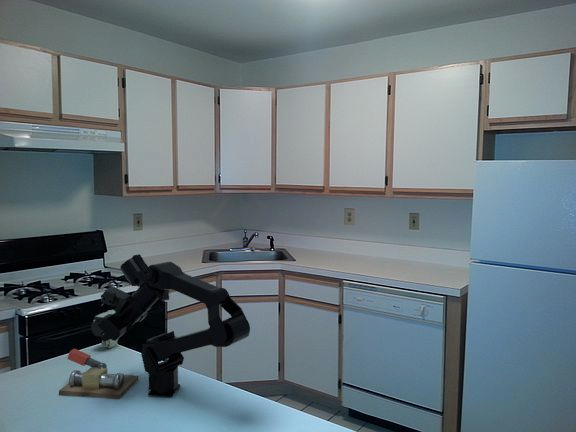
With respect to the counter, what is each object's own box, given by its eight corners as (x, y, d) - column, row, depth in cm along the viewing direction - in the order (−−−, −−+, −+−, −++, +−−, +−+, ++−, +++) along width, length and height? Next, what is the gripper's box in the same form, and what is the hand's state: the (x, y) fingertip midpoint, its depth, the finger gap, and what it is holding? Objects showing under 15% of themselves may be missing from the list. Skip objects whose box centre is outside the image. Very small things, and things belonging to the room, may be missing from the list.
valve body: (125, 385, 118) (124, 369, 118) (116, 392, 114) (116, 376, 113) (78, 382, 119) (77, 366, 119) (68, 389, 115) (68, 373, 115)
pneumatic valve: (127, 341, 152) (127, 306, 151) (103, 353, 141) (102, 316, 140) (114, 339, 154) (113, 304, 153) (88, 351, 143) (88, 314, 142)
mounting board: (138, 379, 123) (138, 375, 123) (119, 399, 112) (119, 394, 112) (83, 376, 124) (83, 372, 124) (59, 395, 113) (58, 390, 113)
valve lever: (109, 363, 121) (74, 348, 121) (105, 366, 118) (69, 351, 119) (106, 370, 121) (71, 355, 122) (102, 374, 119) (66, 358, 119)
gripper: (135, 270, 126) (98, 308, 128) (103, 285, 108) (61, 330, 109) (163, 298, 126) (126, 336, 128) (136, 318, 108) (93, 362, 109)
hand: (103, 340), depth 119 cm, fingers closed
